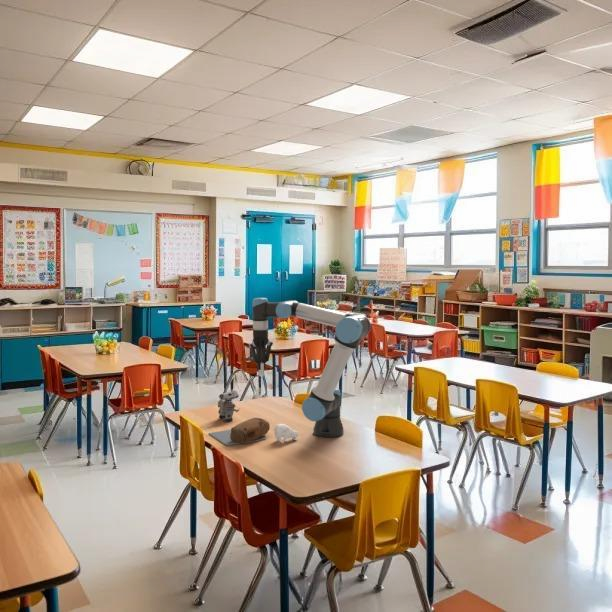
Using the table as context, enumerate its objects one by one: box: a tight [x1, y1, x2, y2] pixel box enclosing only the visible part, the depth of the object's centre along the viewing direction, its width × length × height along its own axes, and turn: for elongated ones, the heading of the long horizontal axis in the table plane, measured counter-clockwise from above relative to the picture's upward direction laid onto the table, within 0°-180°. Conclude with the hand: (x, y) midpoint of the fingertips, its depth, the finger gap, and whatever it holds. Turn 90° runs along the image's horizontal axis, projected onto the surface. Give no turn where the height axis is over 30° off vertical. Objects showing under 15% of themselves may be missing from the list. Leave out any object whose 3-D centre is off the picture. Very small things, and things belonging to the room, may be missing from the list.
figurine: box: [217, 390, 241, 423], centre depth 323 cm, size 9×12×15 cm
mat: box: [208, 429, 266, 447], centre depth 292 cm, size 22×20×1 cm
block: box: [230, 417, 271, 444], centre depth 289 cm, size 11×8×20 cm
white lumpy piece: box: [273, 423, 299, 444], centre depth 286 cm, size 6×8×12 cm
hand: (261, 376), depth 297 cm, fingers closed
